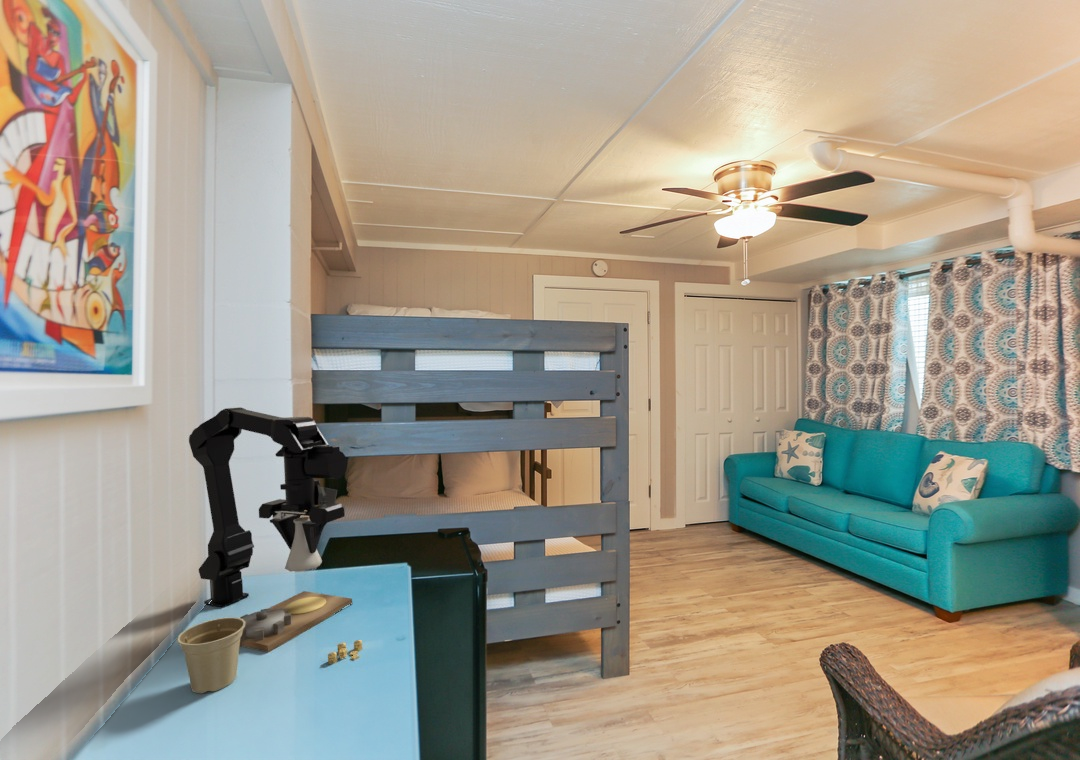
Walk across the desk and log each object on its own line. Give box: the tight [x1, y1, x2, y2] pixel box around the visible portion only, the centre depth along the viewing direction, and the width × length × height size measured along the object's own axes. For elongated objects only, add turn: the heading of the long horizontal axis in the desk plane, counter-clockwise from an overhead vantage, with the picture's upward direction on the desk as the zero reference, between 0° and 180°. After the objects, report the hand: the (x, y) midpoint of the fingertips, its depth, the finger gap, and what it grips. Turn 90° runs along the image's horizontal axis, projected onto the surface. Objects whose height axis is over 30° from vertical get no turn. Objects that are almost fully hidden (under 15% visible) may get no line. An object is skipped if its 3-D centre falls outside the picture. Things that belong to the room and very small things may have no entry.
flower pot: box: [176, 616, 245, 694], centre depth 86 cm, size 9×9×9 cm
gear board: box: [239, 590, 353, 653], centre depth 108 cm, size 14×22×4 cm, turn 157°
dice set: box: [327, 639, 363, 665], centre depth 93 cm, size 5×5×2 cm
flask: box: [284, 516, 323, 573], centre depth 112 cm, size 7×7×10 cm
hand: (303, 551), depth 112 cm, fingers closed on flask, 5 cm apart
